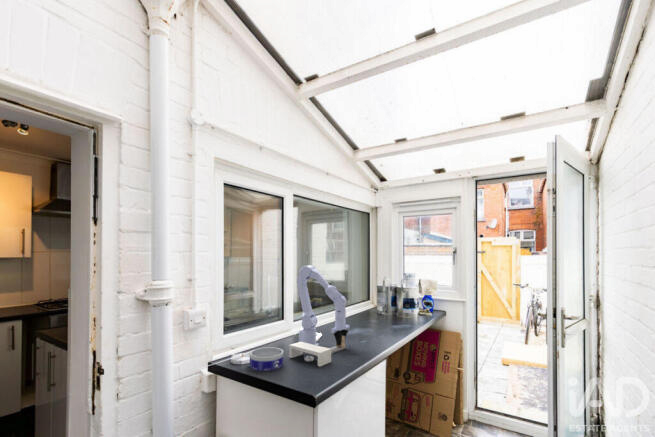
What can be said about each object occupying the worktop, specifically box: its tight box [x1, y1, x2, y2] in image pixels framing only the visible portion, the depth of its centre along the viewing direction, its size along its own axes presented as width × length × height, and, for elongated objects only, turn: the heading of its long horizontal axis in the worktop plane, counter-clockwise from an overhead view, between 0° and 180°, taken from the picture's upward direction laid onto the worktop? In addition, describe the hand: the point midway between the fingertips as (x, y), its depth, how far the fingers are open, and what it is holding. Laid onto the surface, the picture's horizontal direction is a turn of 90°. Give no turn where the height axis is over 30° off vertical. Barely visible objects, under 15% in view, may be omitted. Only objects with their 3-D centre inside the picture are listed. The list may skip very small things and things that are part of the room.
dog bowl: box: [249, 346, 284, 372], centre depth 149 cm, size 15×15×6 cm
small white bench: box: [288, 341, 332, 367], centre depth 156 cm, size 20×8×6 cm, turn 51°
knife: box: [316, 332, 323, 343], centre depth 201 cm, size 30×2×8 cm
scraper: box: [312, 335, 346, 358], centre depth 168 cm, size 5×21×6 cm, turn 141°
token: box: [304, 355, 315, 363], centre depth 155 cm, size 4×4×2 cm
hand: (340, 344), depth 175 cm, fingers closed on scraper, 2 cm apart
